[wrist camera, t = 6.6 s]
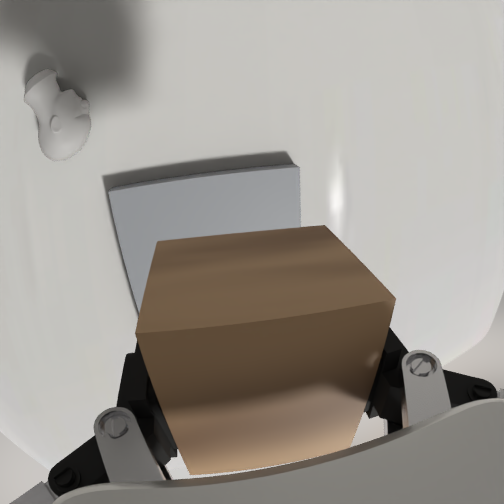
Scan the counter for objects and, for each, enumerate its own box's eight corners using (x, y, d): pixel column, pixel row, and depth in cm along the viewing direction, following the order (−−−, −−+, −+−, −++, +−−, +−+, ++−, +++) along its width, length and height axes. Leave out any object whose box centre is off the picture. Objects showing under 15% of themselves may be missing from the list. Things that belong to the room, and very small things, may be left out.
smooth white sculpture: (103, 141, 25) (52, 167, 24) (74, 63, 21) (24, 89, 20) (103, 140, 21) (45, 171, 20) (71, 51, 18) (12, 81, 16)
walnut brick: (157, 241, 11) (135, 333, 6) (324, 225, 12) (395, 298, 7) (186, 381, 14) (190, 475, 9) (313, 363, 15) (349, 448, 10)
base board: (112, 187, 26) (108, 191, 24) (294, 163, 28) (299, 167, 26) (149, 333, 33) (148, 342, 31) (296, 312, 35) (300, 320, 33)
